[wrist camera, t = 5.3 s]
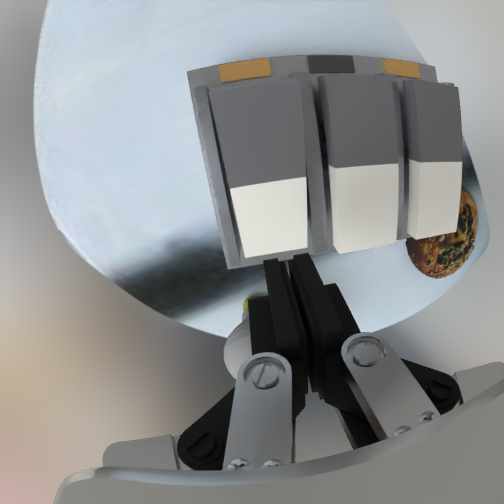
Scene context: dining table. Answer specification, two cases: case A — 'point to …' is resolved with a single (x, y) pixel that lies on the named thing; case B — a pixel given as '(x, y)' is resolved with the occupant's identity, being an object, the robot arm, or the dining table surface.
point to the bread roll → (447, 244)
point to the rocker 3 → (433, 157)
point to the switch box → (314, 138)
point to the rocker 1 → (264, 161)
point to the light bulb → (238, 344)
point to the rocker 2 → (361, 159)
